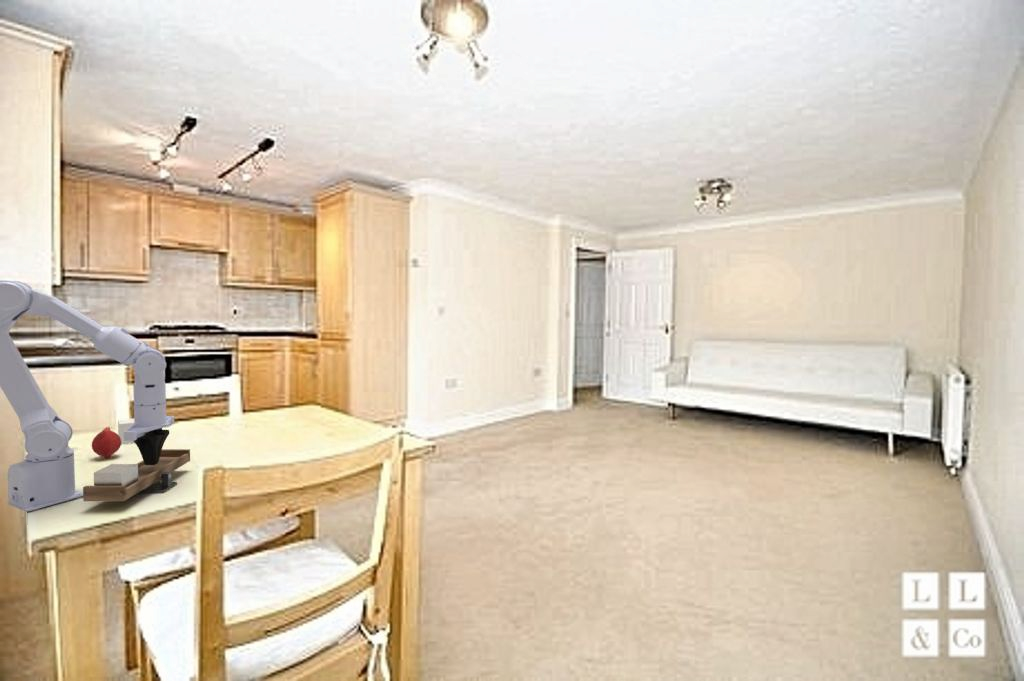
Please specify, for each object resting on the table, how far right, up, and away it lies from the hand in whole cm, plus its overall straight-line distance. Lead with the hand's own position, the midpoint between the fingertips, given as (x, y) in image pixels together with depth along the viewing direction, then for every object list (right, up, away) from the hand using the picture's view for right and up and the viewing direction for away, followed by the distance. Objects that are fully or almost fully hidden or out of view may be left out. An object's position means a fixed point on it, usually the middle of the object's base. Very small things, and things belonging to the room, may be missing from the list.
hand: (151, 464), depth 112 cm
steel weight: (+1, -2, -11) cm, 11 cm away
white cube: (-28, -2, +32) cm, 43 cm away
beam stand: (0, -5, -3) cm, 5 cm away
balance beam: (0, -2, -3) cm, 3 cm away
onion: (-23, -3, +17) cm, 29 cm away
